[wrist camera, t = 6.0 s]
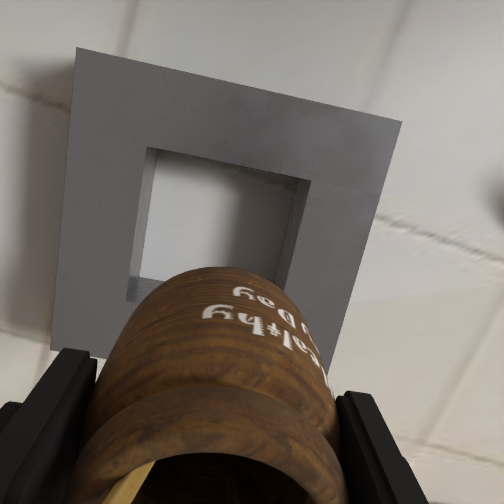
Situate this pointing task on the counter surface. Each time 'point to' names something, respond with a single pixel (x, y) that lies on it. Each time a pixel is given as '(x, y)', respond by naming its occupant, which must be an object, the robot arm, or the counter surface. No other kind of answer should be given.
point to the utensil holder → (211, 402)
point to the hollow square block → (215, 148)
